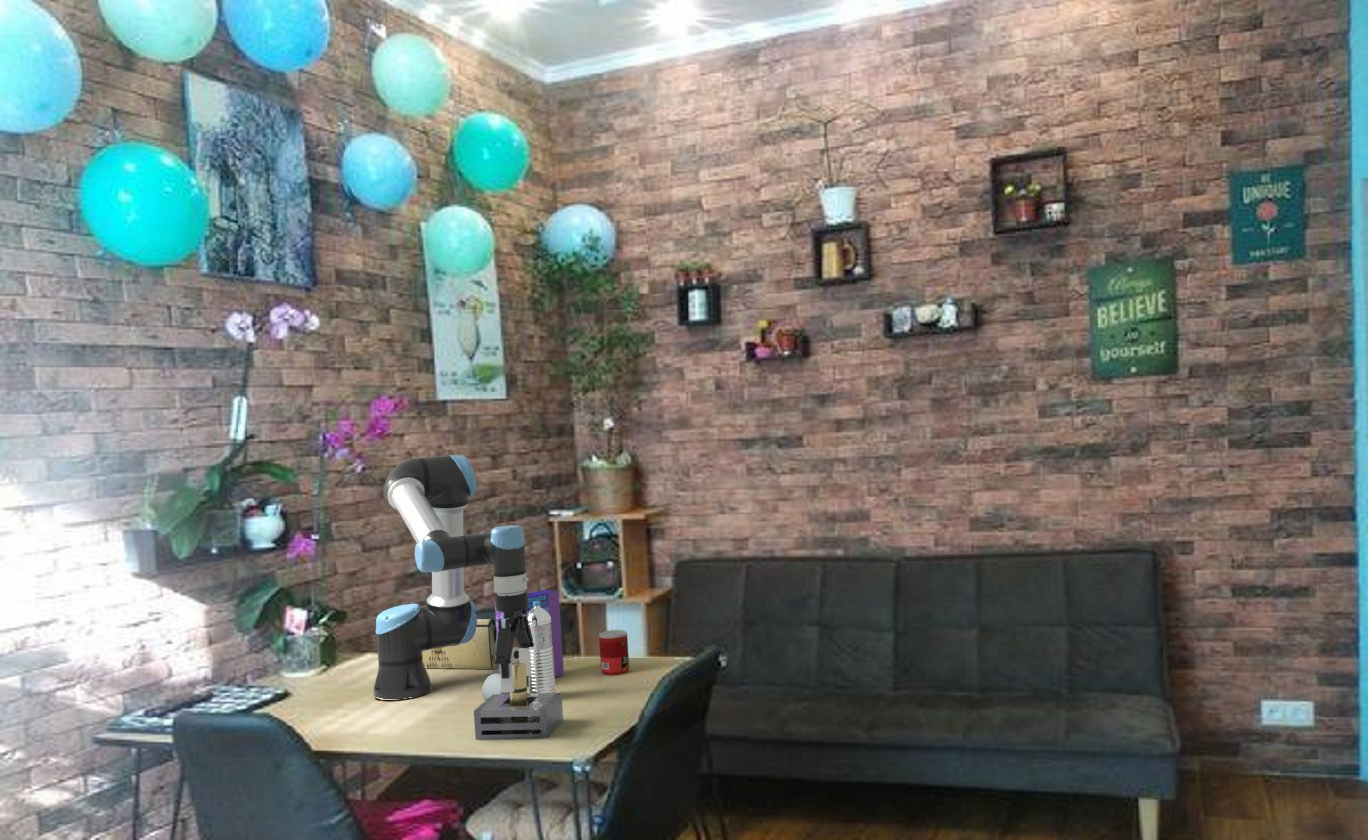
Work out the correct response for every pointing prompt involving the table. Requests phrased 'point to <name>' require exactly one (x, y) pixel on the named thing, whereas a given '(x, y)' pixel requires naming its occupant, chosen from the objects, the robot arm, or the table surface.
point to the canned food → (614, 652)
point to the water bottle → (541, 651)
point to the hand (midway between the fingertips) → (517, 683)
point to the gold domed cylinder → (519, 687)
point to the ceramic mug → (492, 686)
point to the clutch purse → (467, 650)
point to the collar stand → (497, 716)
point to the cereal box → (551, 605)
